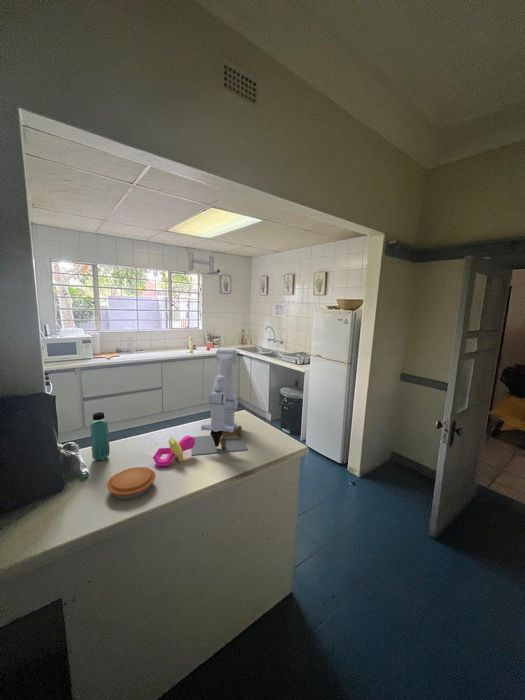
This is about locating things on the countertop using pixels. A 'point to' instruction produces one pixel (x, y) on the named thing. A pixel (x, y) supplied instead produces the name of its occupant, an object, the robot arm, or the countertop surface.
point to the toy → (174, 450)
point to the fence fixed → (235, 433)
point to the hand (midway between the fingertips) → (217, 445)
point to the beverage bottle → (99, 437)
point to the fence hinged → (223, 442)
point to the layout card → (208, 446)
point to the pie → (131, 482)
